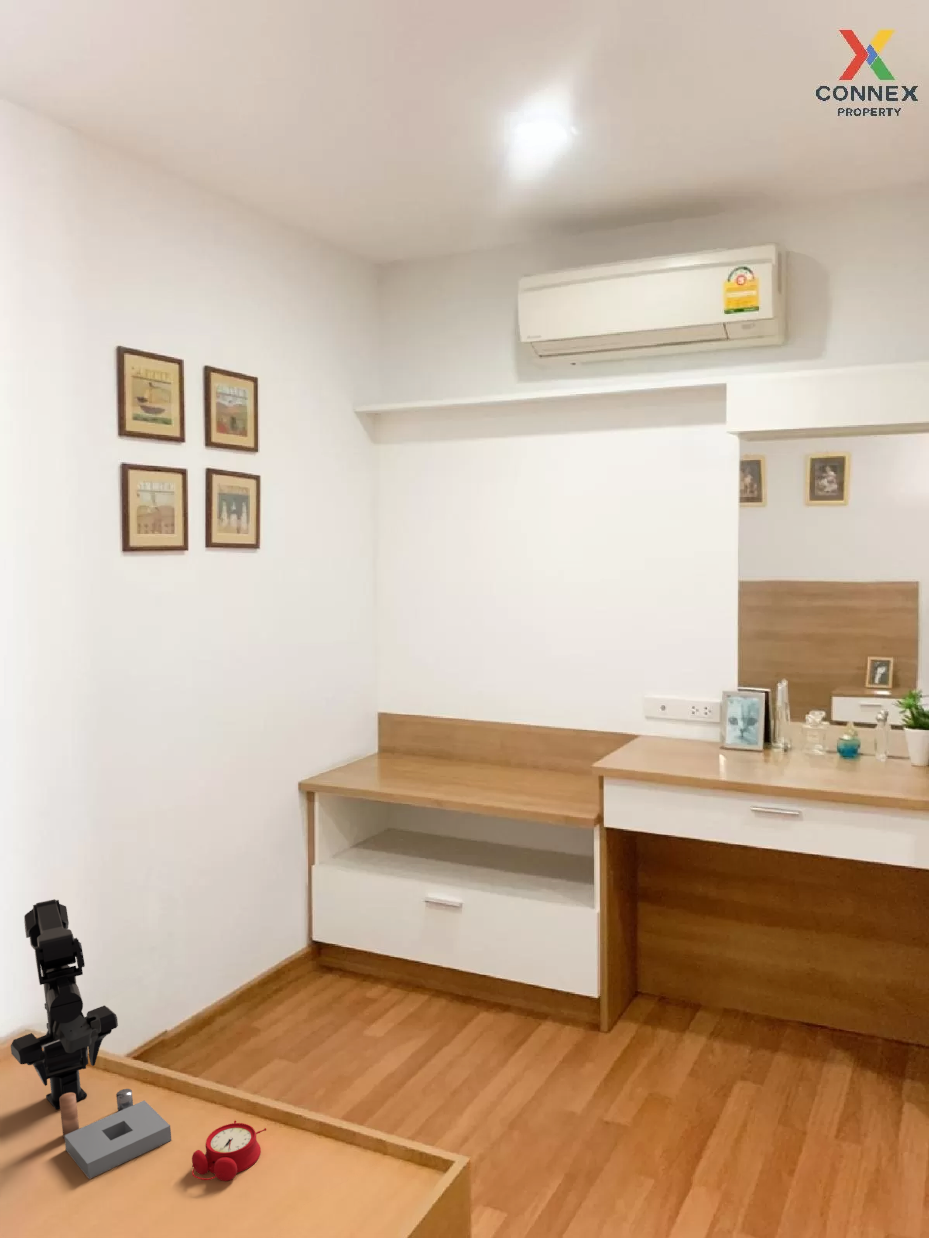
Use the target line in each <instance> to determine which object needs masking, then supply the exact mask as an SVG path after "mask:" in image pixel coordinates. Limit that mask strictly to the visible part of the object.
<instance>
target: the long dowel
mask: <svg viewBox="0 0 929 1238" xmlns="http://www.w3.org/2000/svg"><path fill="white" fill-rule="evenodd" d="M59 1101H60V1119H61V1127H62V1128H61V1129H62V1130H61V1131H62V1138H63V1139H64V1140H65V1137H64V1135H66V1134H68V1133H71V1132H73V1131H75V1130H78V1129H80V1125H79V1114H78V1104H77V1101H76V1094H75V1093H66V1094H63V1095H62V1096H61V1097H60V1098H59Z"/></svg>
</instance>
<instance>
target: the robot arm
mask: <svg viewBox="0 0 929 1238" xmlns="http://www.w3.org/2000/svg"><path fill="white" fill-rule="evenodd" d="M67 909H68V908H67V906H66V905H63V904H61V903H60V901H59V899H51V900H50V899H49V900H45V901H41V902H37V903H35V904H34V905H33V904H32V909H30V910H29V911H28V912H27V913H26V914H24V915H23V917H24V919H23V920H24V922H23V923H24V931H25V938H29V943H30V944H29V945H30V946H31V948H32V949H33V950H34V955H35V963H36V964H35V965H36V970H37V976H38V982H39V985H40V986H42V985H43V992H44V999H45V1003H44V1010H46V1015H47V1016H46V1017H47V1023H46V1030H47V1031H46V1033H45V1035H42V1036H39V1037H38V1038H37V1037H36V1036H35V1035H34V1033H32V1032H31V1033H28V1034H26V1035H22V1036H20V1037H17V1038H15V1039H13V1041H12V1042H11V1045H10V1051H11V1052H10V1053H11V1056H13V1058H14V1059H15V1060H16V1061H17V1062H18V1063H19V1064H20V1065H27V1066H33V1068H34V1069H35V1071H36V1073H37V1075H38V1077H39V1078H40V1080H41V1082H42V1083H43V1085H44V1086H45V1087H46V1086H48V1080H49V1083H50V1091H51V1092H50V1093H47V1094H46V1095H45V1098H46V1100H47V1101H48V1102H49V1103H50V1104H51V1106H52V1107H53V1108H54V1109H55V1110H59V1109H60V1101H59V1098H60V1097H61V1096H62V1095H63V1094H66V1093H75V1094H76V1102H78V1101H80V1100H84V1099H86V1098H87V1097H88V1094H87V1093H86V1091H85V1090H84V1089H83V1088H82V1087H81V1081H80V1080H81V1079H80V1071H81V1070H85V1069H87V1066H88V1064H89V1062H90V1065H91V1066H92V1067H94V1066H95V1065H96V1061H97V1058H98V1054H99V1051H100V1048H101V1045H102V1042H103V1040H104V1038H106V1037H107V1036H108V1035H110V1034H111V1033H112V1030H115V1029H117V1028H118V1026H119V1024H118V1016H117V1014H116V1013H115V1012H114V1011H112V1009H110V1008H109V1007H108V1006H106V1005H102V1006H99V1007H96V1008H93V1009H91V1010H89V1011H87V1012H86V1016H84V1014H83V1008H84V1002H83V997H82V995H81V992H80V989H79V986H78V984H77V977H78V976H83V975H84V974H83V968H85V964H86V963H85V958H84V953H83V952H84V951H83V947H82V942H80V941H79V939H78V937H74V934H73V931H72V930H71V929H69V924H70V923H69V916H68V915H69V914H68V910H67ZM76 963H77V965H73V964H76ZM71 965H73V966H71Z"/></svg>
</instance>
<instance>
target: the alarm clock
mask: <svg viewBox="0 0 929 1238" xmlns="http://www.w3.org/2000/svg"><path fill="white" fill-rule="evenodd" d="M266 1131H267V1128H265V1127H264V1129H262V1130H258V1131H256V1130H255V1129H254V1128H253V1127H252V1126H251V1125H250V1124H248V1123H242V1122H237V1121H236V1120H234V1121H233V1123H228V1124H224V1125H222V1126H219V1127H218V1128H216V1129H215V1130H213V1131H212V1132H211V1133H209V1134H208V1136H207V1138H206V1140H205V1154H204V1152H203V1151H202V1150H201V1149H196V1151H194V1152H193V1153H192V1156H191V1162H192V1166H191V1167H192V1168H193V1169H192V1170H191V1175H192V1177H194V1178H195V1179H199V1180H200V1181H201V1180H202V1181H210V1180H213V1179H216V1178H217V1179H218V1180H220V1181H222V1182H228V1181H231V1180H233V1179H234V1178H235V1177H236V1175H237V1174H238V1173H240V1172H241V1173H242V1172H243V1171H245V1170H247V1169H249V1168H251V1167H252V1166H253V1165H254V1164H255V1163H257V1161H258V1160H259V1158H260V1156H261V1153H262V1149H261V1145H260V1144H259V1142H258V1140H257V1135H258V1134H261V1133H262V1132H266ZM194 1172H196V1173H197V1174H199V1175H202V1176H203V1175H206V1174H208V1173H211V1174H213V1175H215V1176H212V1177H209V1178H204V1177H200V1176H197V1175H195V1173H194Z"/></svg>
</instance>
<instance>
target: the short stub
mask: <svg viewBox="0 0 929 1238" xmlns="http://www.w3.org/2000/svg"><path fill="white" fill-rule="evenodd" d="M115 1097H116V1104H117V1105H116V1106H117V1112H119V1111H121V1110H123V1109H126V1108H128V1107H130V1106H133V1105H134V1102H133V1101H134V1099H133V1091H132V1089H130V1088H122V1089H120V1090H119V1091H117V1092H116V1094H115Z"/></svg>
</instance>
